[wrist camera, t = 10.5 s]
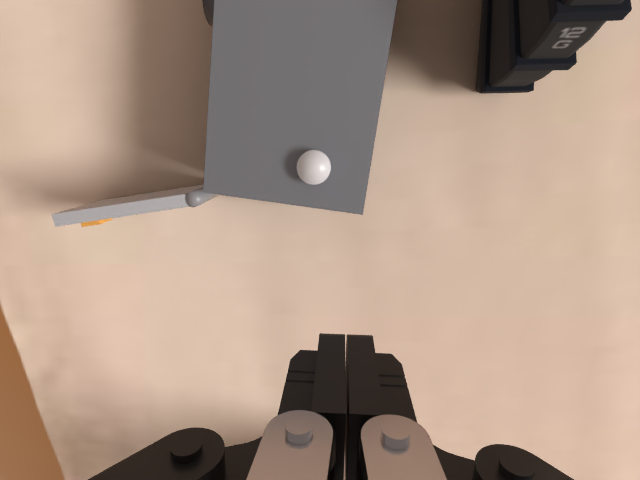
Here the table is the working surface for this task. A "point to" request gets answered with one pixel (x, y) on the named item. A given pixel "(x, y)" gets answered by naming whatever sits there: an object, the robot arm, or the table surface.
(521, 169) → the table surface
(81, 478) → the table surface
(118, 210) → the side door
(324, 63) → the camera box
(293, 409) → the robot arm
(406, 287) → the table surface
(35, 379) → the table surface
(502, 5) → the black piece
